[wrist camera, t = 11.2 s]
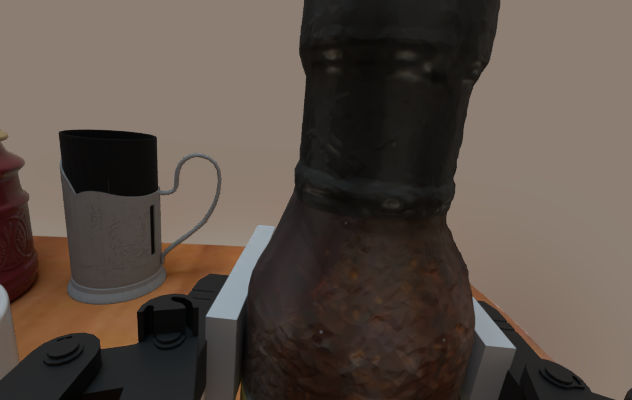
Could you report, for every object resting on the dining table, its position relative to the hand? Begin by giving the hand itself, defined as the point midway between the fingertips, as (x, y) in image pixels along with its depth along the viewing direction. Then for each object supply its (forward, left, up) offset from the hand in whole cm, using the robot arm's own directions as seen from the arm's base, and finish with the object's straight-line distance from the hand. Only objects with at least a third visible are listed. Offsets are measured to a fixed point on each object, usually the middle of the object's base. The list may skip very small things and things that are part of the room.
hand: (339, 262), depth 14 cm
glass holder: (-18, +17, -13) cm, 28 cm away
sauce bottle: (0, -5, -11) cm, 12 cm away
